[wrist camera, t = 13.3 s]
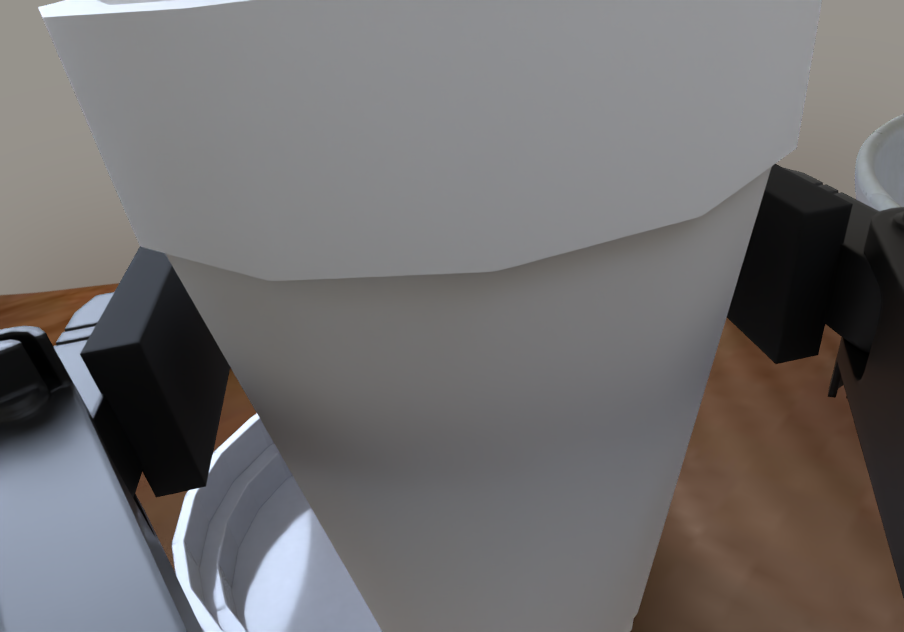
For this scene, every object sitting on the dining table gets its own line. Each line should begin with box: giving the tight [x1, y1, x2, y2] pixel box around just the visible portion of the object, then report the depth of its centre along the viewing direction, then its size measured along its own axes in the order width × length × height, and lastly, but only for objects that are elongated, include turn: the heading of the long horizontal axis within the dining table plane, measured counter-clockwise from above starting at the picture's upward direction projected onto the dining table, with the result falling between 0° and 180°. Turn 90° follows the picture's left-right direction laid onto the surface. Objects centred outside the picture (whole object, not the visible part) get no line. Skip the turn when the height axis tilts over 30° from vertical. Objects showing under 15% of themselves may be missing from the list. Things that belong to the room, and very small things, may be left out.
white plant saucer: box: [172, 414, 382, 632], centre depth 27 cm, size 16×16×4 cm
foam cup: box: [38, 0, 822, 632], centre depth 12 cm, size 10×9×13 cm
